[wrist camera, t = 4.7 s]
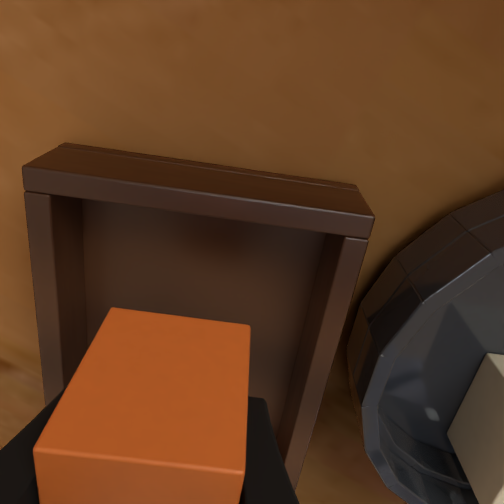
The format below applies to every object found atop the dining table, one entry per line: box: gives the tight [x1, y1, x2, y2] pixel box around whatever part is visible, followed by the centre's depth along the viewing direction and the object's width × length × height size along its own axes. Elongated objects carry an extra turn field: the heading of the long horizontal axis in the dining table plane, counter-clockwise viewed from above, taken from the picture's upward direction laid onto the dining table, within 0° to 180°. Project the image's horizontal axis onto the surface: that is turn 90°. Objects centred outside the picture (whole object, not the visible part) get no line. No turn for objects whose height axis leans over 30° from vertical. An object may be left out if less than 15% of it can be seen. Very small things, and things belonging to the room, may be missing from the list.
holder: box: [22, 143, 375, 492], centre depth 18 cm, size 16×11×3 cm
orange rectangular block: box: [33, 307, 251, 504], centre depth 10 cm, size 5×3×4 cm
